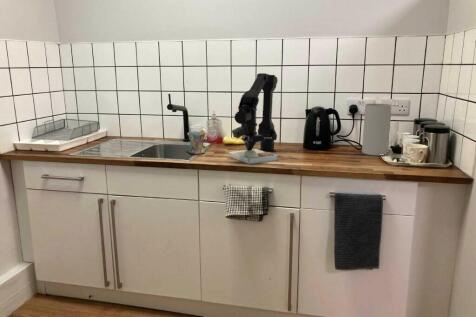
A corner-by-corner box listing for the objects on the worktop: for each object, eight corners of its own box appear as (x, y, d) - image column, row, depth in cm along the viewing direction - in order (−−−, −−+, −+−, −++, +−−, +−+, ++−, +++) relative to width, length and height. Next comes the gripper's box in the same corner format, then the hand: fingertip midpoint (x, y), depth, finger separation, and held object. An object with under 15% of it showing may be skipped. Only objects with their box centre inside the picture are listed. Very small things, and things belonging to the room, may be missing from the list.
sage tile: (253, 154, 193) (254, 150, 192) (257, 160, 190) (258, 156, 188) (243, 155, 191) (244, 151, 189) (248, 161, 188) (249, 157, 186)
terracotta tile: (266, 157, 197) (266, 152, 197) (271, 159, 193) (272, 154, 192) (257, 158, 195) (257, 153, 194) (263, 160, 190) (263, 155, 190)
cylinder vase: (376, 157, 198) (380, 106, 192) (356, 152, 208) (359, 104, 202) (392, 154, 204) (396, 105, 198) (372, 149, 214) (376, 103, 209)
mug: (191, 150, 213) (190, 131, 211) (208, 151, 212) (207, 131, 209) (183, 155, 202) (183, 135, 200) (201, 156, 200) (200, 135, 198)
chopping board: (256, 152, 209) (256, 148, 208) (267, 156, 199) (267, 152, 199) (229, 155, 201) (229, 152, 201) (239, 160, 192) (239, 156, 191)
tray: (267, 156, 199) (267, 151, 199) (277, 160, 191) (277, 155, 191) (239, 160, 192) (239, 155, 191) (248, 164, 184) (248, 159, 184)
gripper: (225, 119, 192) (225, 151, 196) (243, 125, 176) (243, 159, 180) (245, 118, 197) (245, 149, 201) (265, 123, 181) (264, 156, 185)
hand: (249, 153), depth 192 cm, fingers closed
